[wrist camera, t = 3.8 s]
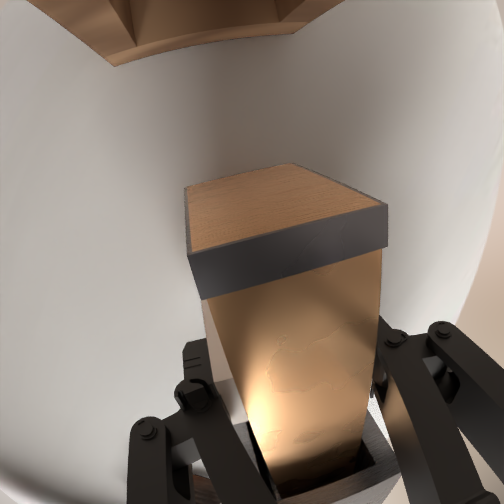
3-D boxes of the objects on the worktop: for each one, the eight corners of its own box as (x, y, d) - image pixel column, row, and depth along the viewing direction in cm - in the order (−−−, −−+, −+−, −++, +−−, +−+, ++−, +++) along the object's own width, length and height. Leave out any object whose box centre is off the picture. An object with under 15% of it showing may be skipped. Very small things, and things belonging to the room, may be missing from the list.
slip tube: (266, 452, 20) (288, 518, 14) (184, 187, 11) (187, 255, 6) (318, 436, 20) (347, 498, 15) (292, 162, 11) (387, 204, 6)
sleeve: (247, 443, 22) (277, 547, 13) (215, 371, 18) (251, 526, 9) (325, 419, 23) (373, 514, 14) (323, 339, 19) (404, 470, 9)
